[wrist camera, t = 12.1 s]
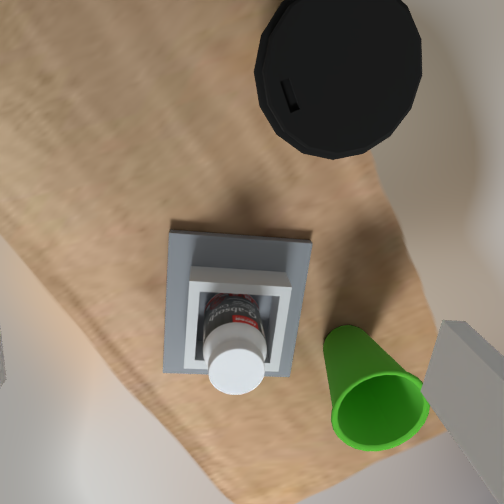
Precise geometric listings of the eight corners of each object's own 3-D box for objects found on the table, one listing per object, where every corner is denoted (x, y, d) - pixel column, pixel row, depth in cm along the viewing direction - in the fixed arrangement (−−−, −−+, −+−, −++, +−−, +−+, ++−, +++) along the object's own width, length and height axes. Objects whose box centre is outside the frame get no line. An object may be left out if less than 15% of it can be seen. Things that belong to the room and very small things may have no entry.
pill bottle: (254, 283, 43) (267, 337, 34) (262, 330, 45) (276, 393, 36) (198, 293, 42) (196, 350, 33) (208, 340, 45) (209, 406, 35)
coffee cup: (268, 159, 39) (291, 187, 28) (222, 37, 35) (228, 13, 24) (378, 113, 39) (446, 124, 28) (344, -16, 35) (408, -65, 24)
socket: (170, 229, 41) (165, 245, 37) (310, 240, 43) (321, 256, 38) (163, 367, 47) (159, 394, 42) (288, 371, 48) (295, 398, 44)
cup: (365, 294, 46) (410, 353, 35) (395, 354, 49) (444, 424, 39) (291, 332, 46) (315, 401, 36) (326, 389, 50) (356, 466, 40)
